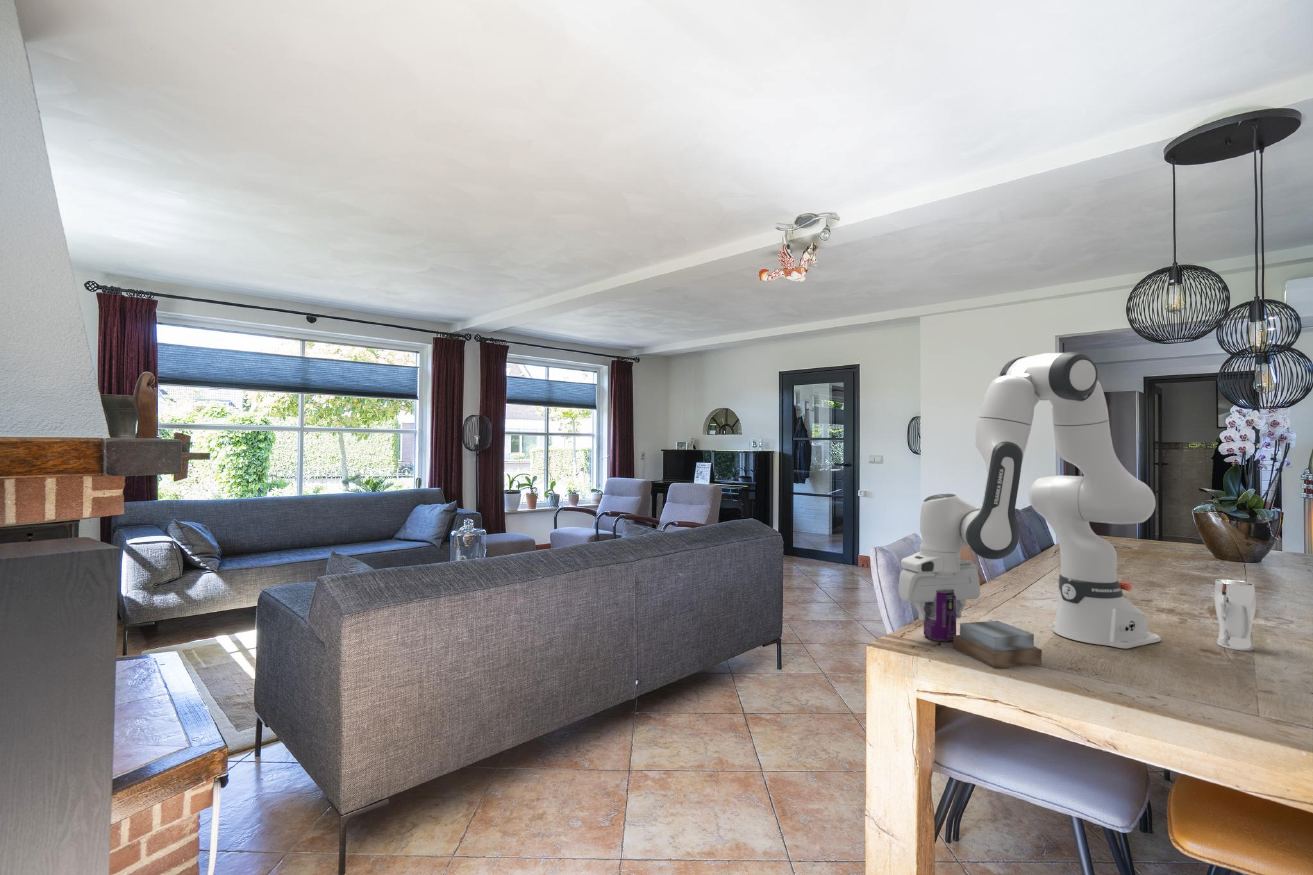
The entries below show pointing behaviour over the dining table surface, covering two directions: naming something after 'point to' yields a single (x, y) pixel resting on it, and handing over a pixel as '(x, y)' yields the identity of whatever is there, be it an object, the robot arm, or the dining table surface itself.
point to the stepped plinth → (997, 655)
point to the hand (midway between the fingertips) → (939, 618)
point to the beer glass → (1235, 613)
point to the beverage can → (941, 616)
